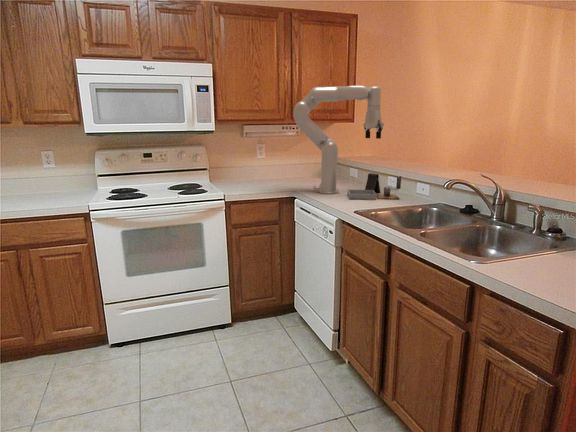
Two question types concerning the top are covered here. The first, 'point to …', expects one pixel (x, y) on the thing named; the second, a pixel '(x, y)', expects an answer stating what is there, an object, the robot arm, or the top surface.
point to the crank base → (388, 197)
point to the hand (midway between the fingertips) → (373, 138)
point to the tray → (362, 195)
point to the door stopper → (373, 183)
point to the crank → (398, 186)
